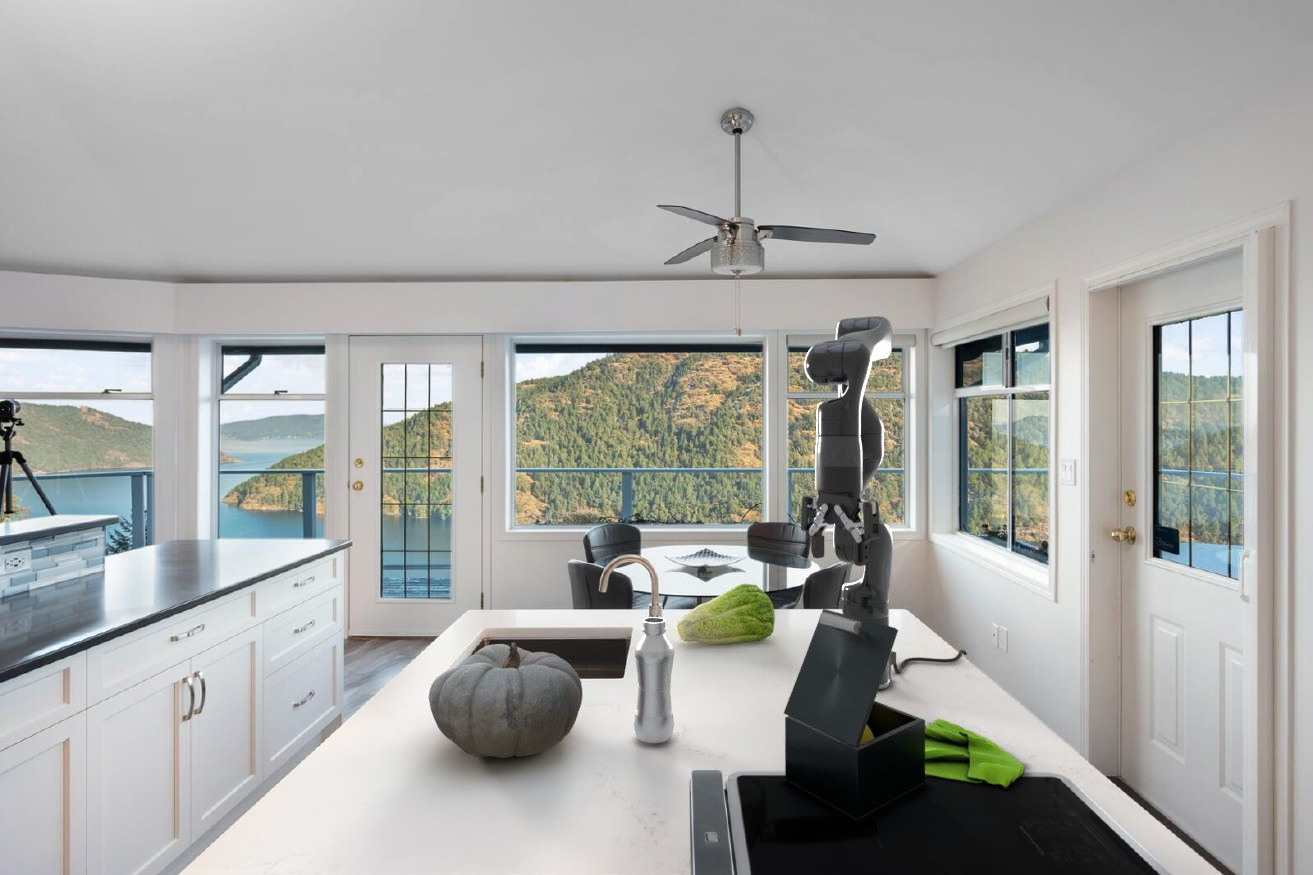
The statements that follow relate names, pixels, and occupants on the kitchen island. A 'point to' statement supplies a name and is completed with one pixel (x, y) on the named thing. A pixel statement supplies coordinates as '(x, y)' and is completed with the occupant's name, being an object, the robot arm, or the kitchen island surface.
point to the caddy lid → (841, 675)
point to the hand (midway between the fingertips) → (838, 561)
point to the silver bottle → (654, 683)
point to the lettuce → (730, 618)
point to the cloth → (967, 756)
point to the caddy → (858, 764)
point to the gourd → (506, 701)
